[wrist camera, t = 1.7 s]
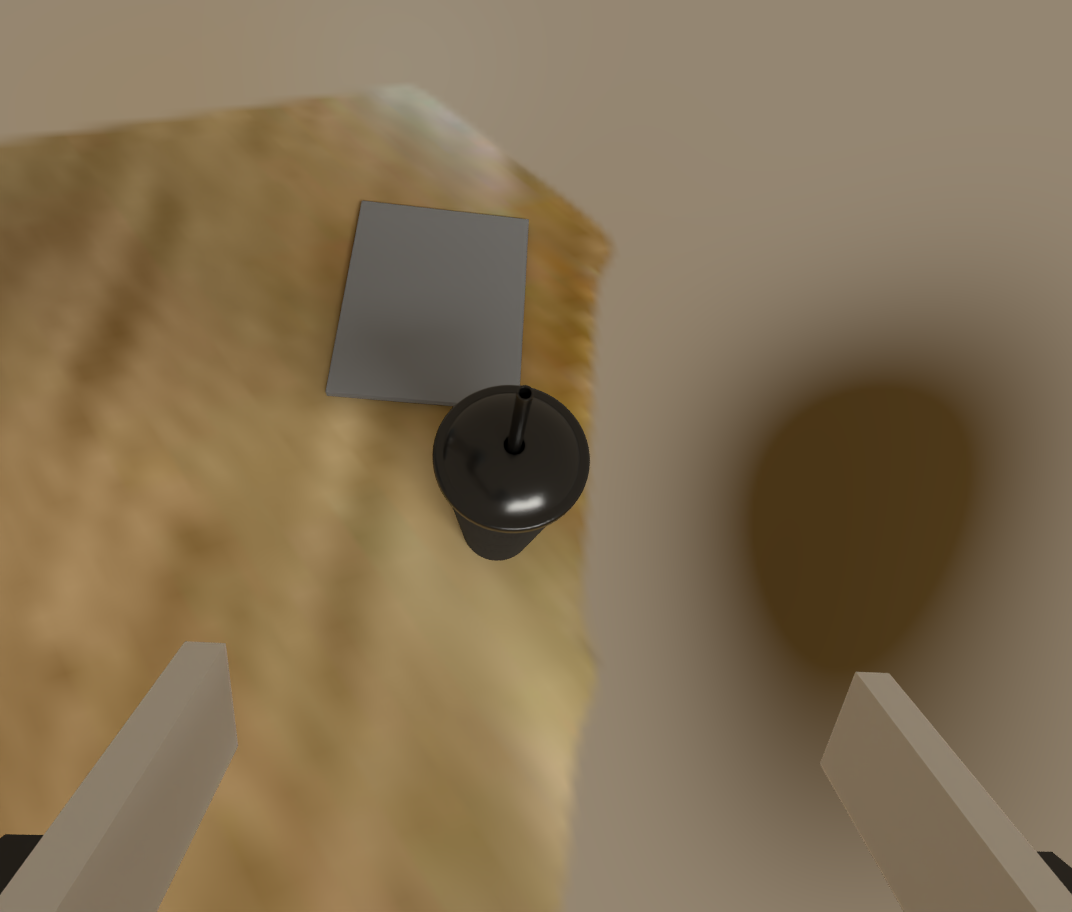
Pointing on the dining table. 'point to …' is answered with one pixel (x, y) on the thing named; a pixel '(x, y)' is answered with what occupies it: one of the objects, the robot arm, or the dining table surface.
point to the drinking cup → (509, 466)
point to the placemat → (430, 305)
